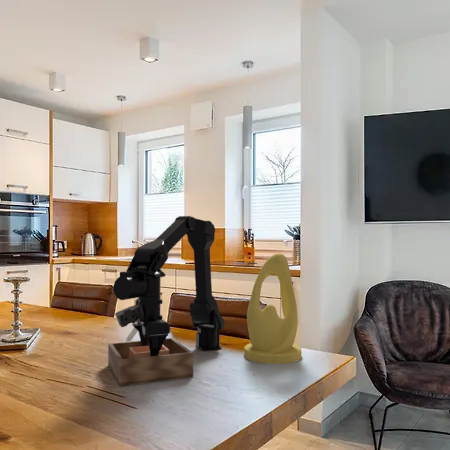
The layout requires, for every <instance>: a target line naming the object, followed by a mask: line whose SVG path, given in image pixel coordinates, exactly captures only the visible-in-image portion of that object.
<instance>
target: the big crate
mask: <svg viewBox="0 0 450 450" xmlns="http://www.w3.org/2000/svg"><path fill="white" fill-rule="evenodd" d="M163 345H164V346H165V347H166V348H168V349H169V355H159V356H150V357H140V358H131V359H129V348H130V347H140V346H142V345H141V341H140V340H133V341H132V340H131V342H124V341H121V342H112V343H111V342H110V343H107V353H108V355H107V359H108V361H107V362H108V363H107V365H108V368H109V370H110V372H111V373H112V375H113V377H114V379H115V381H116V383H117V384H118V386H119V387H128V386H136V385H143V384H149V383H157V382H158V383H159V382H165V381H174V380H181V379H182V380H183V379H190V378H194V352H193V351H192V350H191V349H189V348H187V347H186V346H184V344H182V343H180V342H179V341H178V340H176V339H175V338H174V337H166V339H165V341H164V343H163Z"/></svg>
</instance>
